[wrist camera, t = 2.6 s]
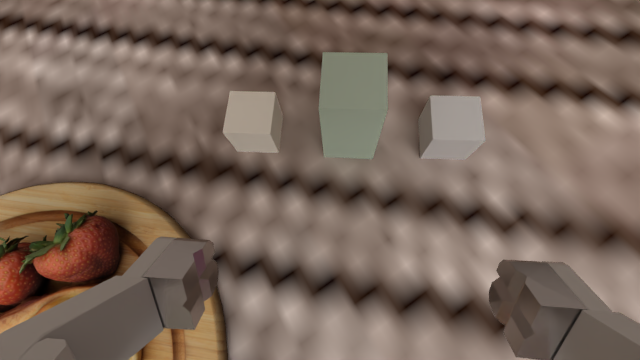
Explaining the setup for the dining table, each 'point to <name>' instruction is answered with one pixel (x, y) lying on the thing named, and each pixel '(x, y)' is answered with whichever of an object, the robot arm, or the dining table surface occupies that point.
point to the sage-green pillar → (352, 103)
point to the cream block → (253, 121)
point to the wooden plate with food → (89, 257)
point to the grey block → (451, 127)
